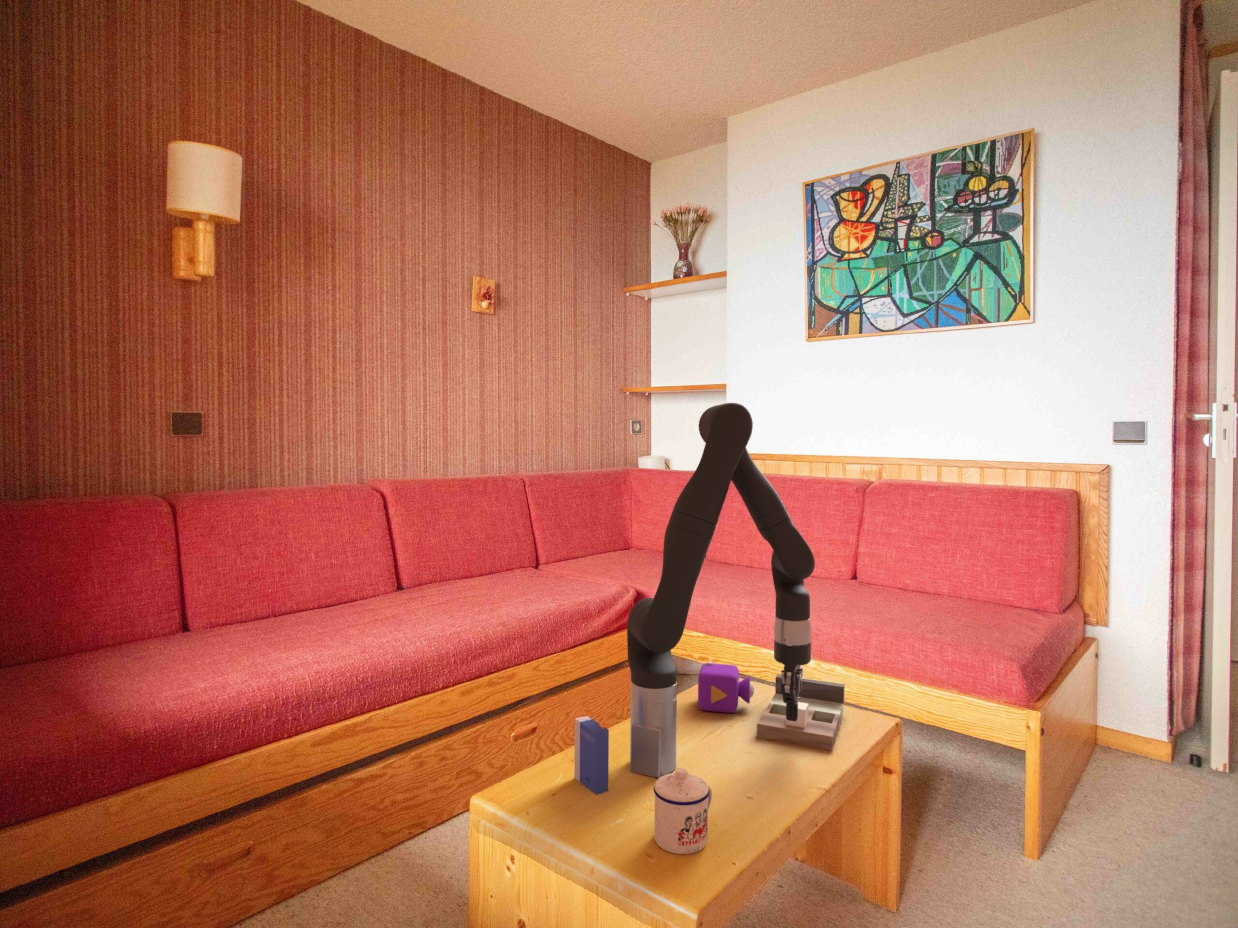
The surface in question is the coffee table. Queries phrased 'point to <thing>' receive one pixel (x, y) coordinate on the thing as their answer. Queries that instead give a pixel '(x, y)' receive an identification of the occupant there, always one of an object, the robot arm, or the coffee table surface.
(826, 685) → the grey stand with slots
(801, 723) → the block
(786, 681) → the robot arm
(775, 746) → the coffee table surface
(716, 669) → the toy camera
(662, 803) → the teacup with lid
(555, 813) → the coffee table surface
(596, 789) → the walkman
